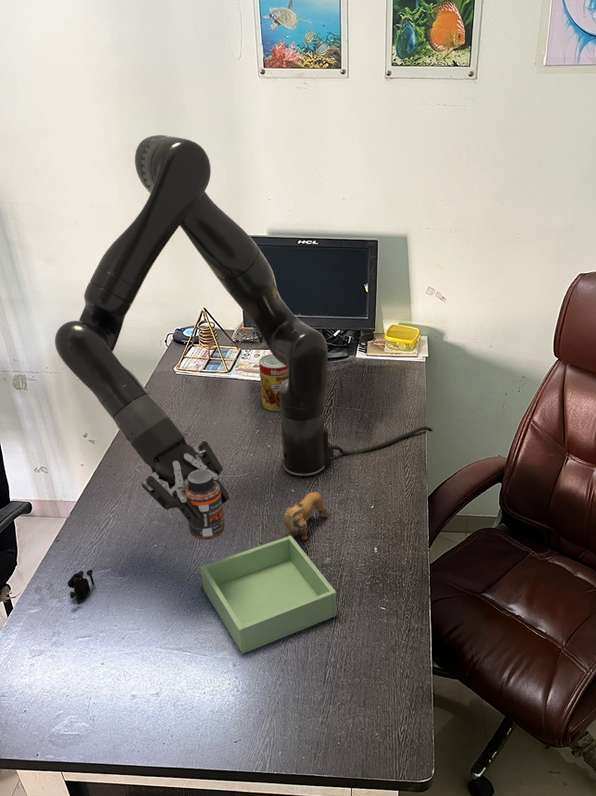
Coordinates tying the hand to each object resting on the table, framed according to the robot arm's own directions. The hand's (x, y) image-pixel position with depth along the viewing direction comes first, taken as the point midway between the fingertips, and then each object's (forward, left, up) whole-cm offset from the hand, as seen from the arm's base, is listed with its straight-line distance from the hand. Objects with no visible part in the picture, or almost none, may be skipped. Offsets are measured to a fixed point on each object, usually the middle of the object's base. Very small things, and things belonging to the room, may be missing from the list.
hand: (212, 511), depth 123 cm
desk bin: (-6, +7, -18) cm, 20 cm away
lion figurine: (-21, -8, -18) cm, 29 cm away
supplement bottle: (+1, -2, -5) cm, 5 cm away
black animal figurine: (+22, -11, -18) cm, 31 cm away
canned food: (-38, -58, -18) cm, 72 cm away
